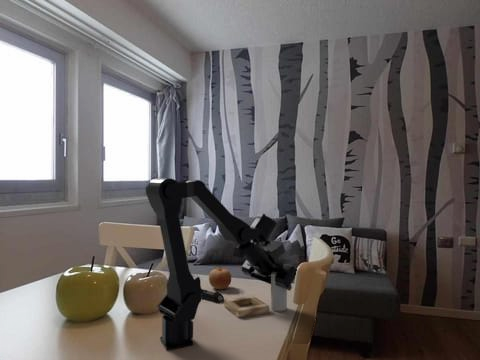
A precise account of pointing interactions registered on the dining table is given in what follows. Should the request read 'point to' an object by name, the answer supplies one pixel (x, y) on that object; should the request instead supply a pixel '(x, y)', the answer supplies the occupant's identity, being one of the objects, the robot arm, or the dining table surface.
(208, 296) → the electric trimmer
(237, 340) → the dining table surface
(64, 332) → the dining table surface
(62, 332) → the dining table surface
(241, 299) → the socket block
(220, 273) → the apple
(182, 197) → the robot arm
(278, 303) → the beverage can
